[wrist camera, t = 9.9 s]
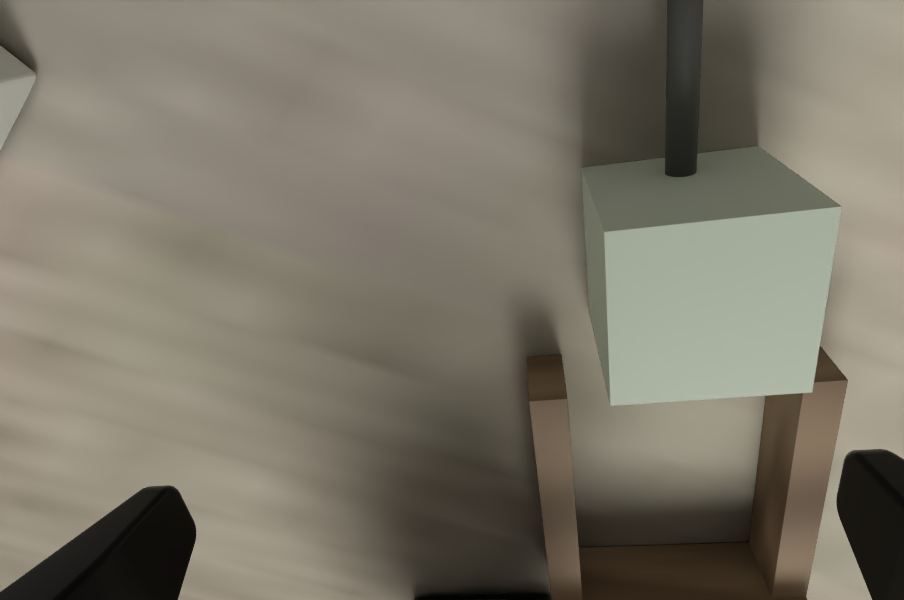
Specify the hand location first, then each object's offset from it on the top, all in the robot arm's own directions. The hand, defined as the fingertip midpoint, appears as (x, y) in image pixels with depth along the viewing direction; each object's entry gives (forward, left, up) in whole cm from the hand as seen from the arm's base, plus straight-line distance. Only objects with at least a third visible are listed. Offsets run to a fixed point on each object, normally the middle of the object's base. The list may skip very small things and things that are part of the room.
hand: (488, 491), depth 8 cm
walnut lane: (-12, -5, -12) cm, 17 cm away
